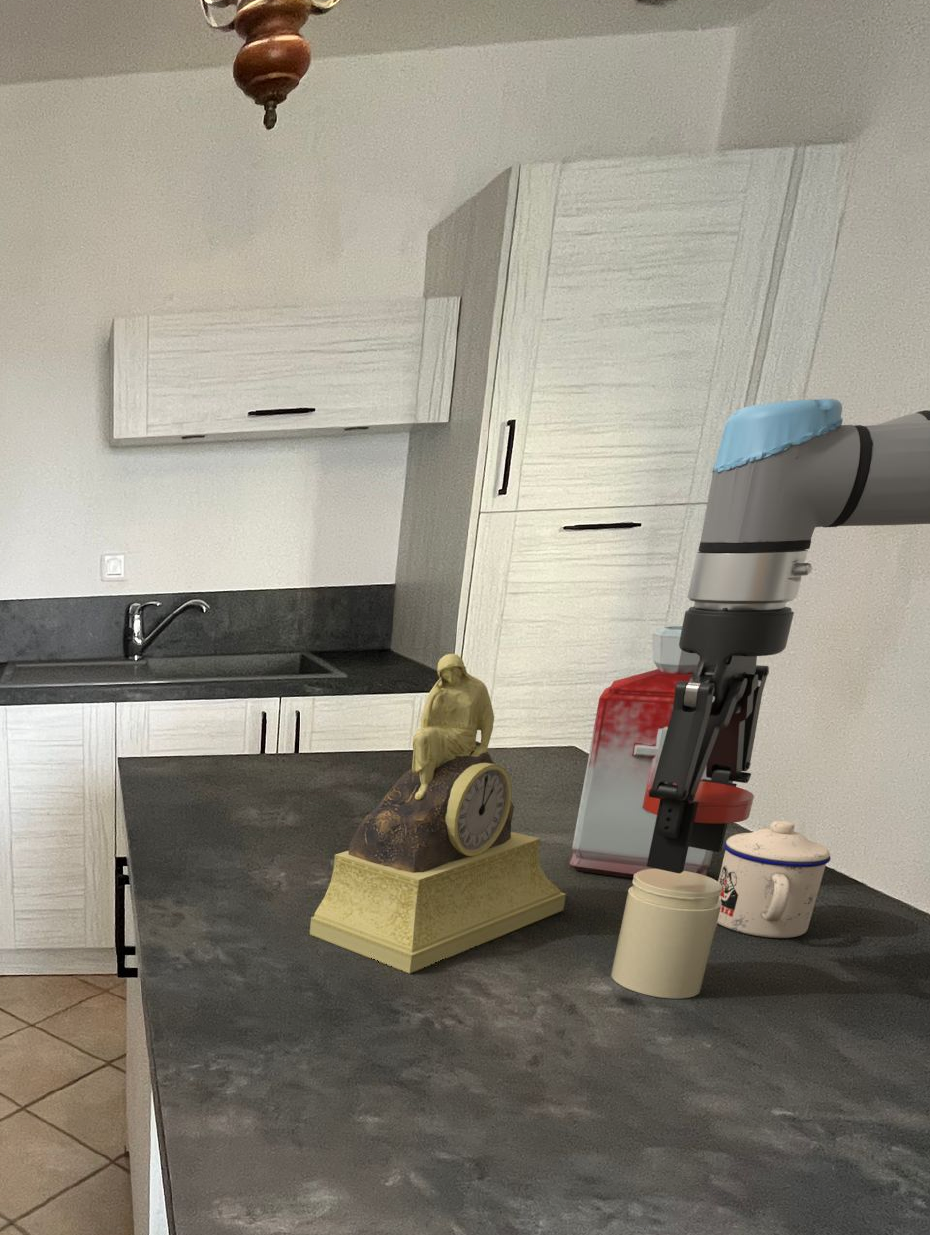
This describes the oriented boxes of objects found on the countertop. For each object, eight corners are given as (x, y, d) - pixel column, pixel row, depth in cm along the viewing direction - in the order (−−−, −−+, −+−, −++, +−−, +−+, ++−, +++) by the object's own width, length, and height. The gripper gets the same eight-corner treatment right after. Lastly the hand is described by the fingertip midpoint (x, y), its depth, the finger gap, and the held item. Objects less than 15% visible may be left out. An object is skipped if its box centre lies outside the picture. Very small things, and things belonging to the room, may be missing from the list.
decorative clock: (409, 973, 99) (446, 674, 89) (309, 934, 109) (331, 662, 99) (563, 910, 113) (611, 645, 102) (461, 880, 123) (495, 636, 113)
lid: (623, 801, 93) (627, 781, 92) (707, 797, 93) (712, 778, 92) (680, 825, 86) (684, 804, 85) (771, 821, 86) (776, 800, 85)
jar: (700, 975, 96) (724, 874, 93) (700, 1005, 91) (726, 899, 87) (613, 960, 100) (633, 862, 97) (608, 988, 95) (629, 886, 91)
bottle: (566, 873, 124) (610, 631, 113) (576, 851, 132) (618, 622, 121) (704, 893, 116) (765, 634, 106) (705, 868, 124) (763, 624, 113)
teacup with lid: (702, 904, 113) (725, 807, 109) (801, 915, 109) (828, 815, 105) (714, 942, 103) (740, 837, 99) (822, 956, 99) (854, 847, 95)
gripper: (744, 617, 74) (683, 896, 82) (835, 596, 86) (773, 843, 94) (637, 613, 80) (589, 874, 88) (735, 594, 91) (685, 827, 99)
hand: (684, 858), depth 91 cm, fingers closed on lid, 8 cm apart
